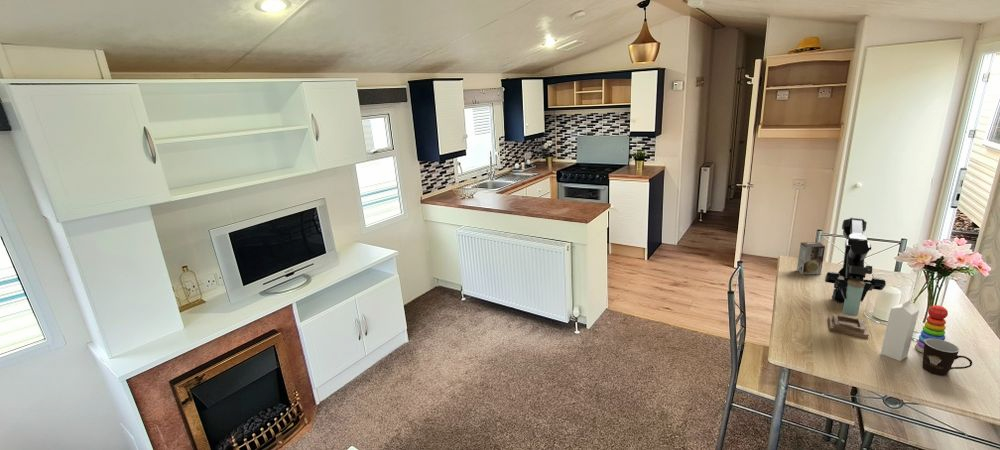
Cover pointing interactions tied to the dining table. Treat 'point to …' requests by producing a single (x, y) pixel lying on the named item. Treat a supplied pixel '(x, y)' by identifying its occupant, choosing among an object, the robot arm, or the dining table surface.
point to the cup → (853, 297)
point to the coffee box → (810, 258)
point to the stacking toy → (933, 326)
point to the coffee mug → (940, 356)
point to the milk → (899, 331)
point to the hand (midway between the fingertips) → (853, 300)
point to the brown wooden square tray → (848, 325)
